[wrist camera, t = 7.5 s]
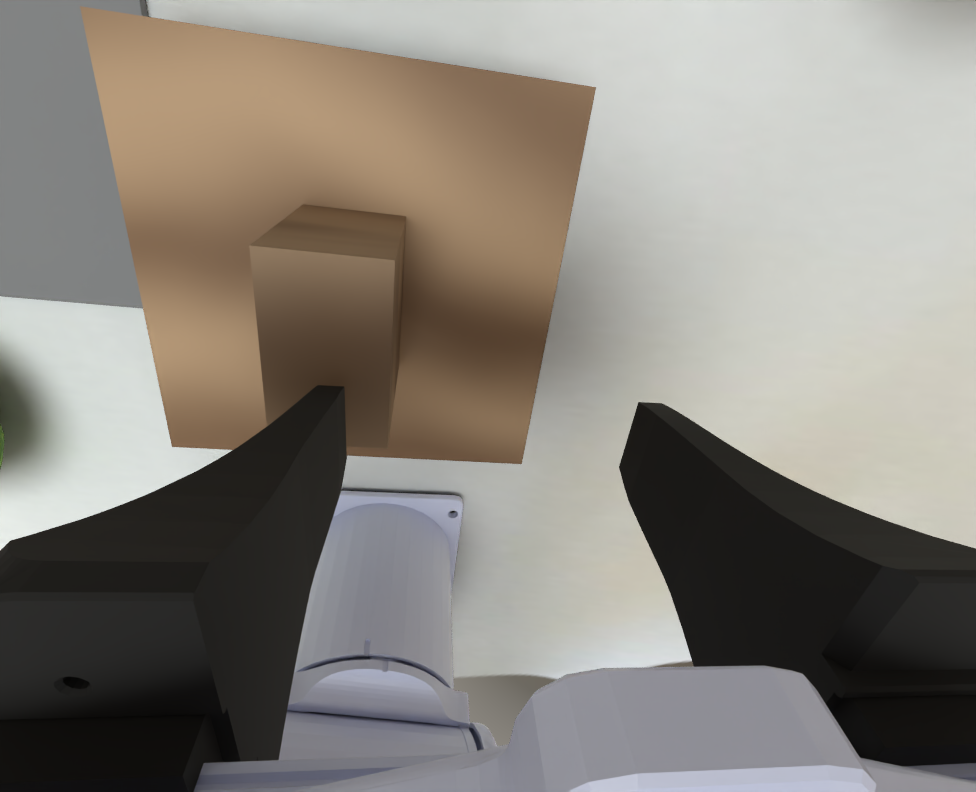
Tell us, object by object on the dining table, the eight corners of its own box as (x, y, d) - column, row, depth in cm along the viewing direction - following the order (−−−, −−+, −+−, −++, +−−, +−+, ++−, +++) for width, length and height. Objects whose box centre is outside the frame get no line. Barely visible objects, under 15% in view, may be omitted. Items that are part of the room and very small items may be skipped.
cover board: (519, 455, 21) (544, 560, 16) (179, 437, 19) (92, 550, 14) (590, 87, 15) (666, 80, 10) (94, 10, 13) (-111, -46, 8)
